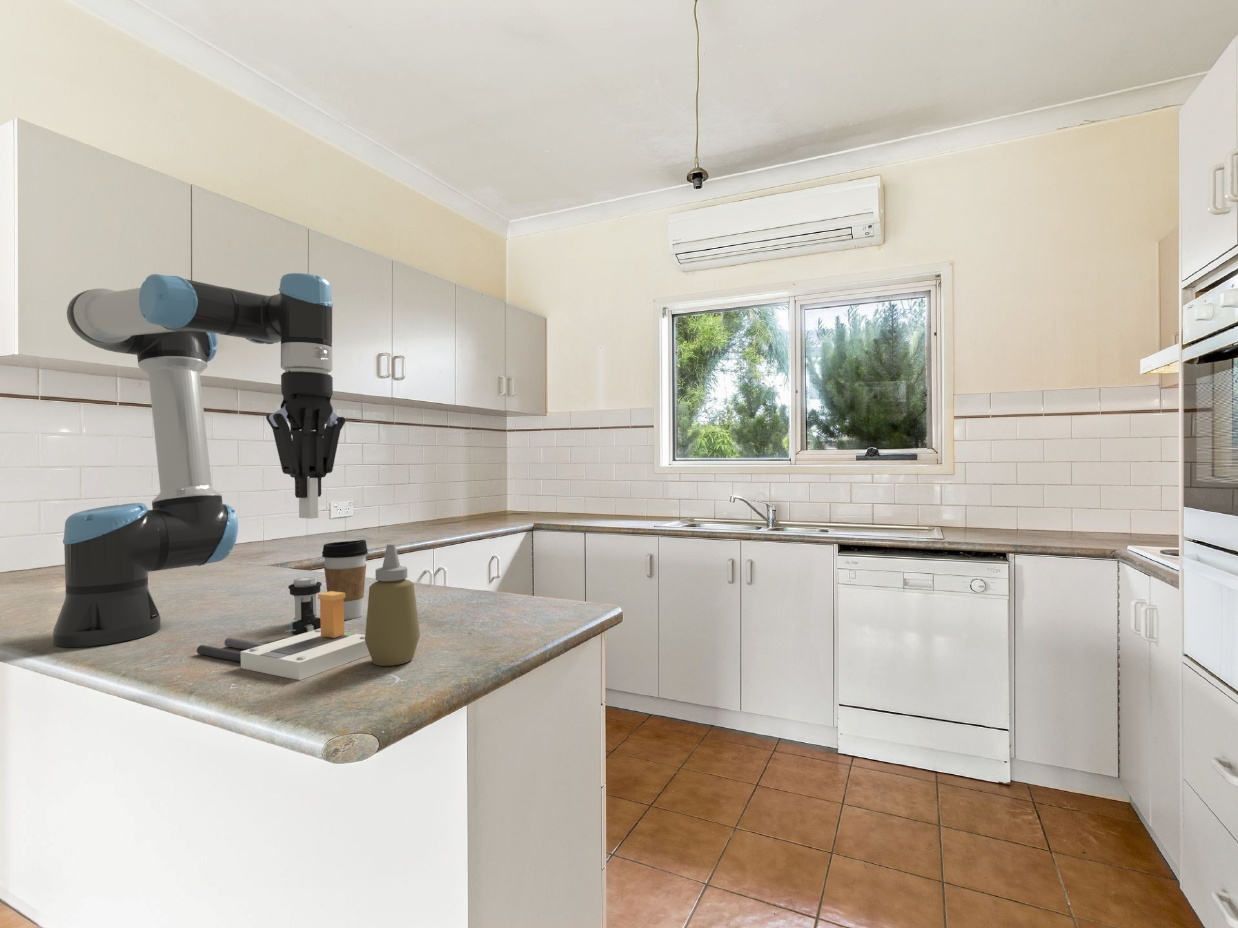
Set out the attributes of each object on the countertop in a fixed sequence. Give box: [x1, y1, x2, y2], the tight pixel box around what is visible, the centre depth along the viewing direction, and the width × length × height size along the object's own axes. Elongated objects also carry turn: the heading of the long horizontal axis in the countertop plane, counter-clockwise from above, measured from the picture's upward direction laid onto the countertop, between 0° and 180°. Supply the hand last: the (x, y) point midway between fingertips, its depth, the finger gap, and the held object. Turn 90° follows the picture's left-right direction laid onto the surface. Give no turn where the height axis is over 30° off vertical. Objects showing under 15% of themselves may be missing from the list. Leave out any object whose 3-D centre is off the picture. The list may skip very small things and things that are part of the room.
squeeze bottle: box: [364, 543, 421, 667], centre depth 98 cm, size 8×8×18 cm
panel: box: [240, 628, 370, 681], centre depth 99 cm, size 13×14×3 cm
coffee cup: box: [321, 539, 369, 621], centre depth 127 cm, size 8×8×15 cm
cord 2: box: [224, 637, 266, 651], centre depth 105 cm, size 13×1×1 cm, turn 64°
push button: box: [283, 576, 323, 639], centre depth 113 cm, size 7×5×10 cm
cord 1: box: [196, 644, 241, 663], centre depth 101 cm, size 13×1×1 cm, turn 64°
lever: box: [317, 591, 345, 638], centre depth 103 cm, size 3×2×7 cm
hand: (308, 517), depth 104 cm, fingers closed
